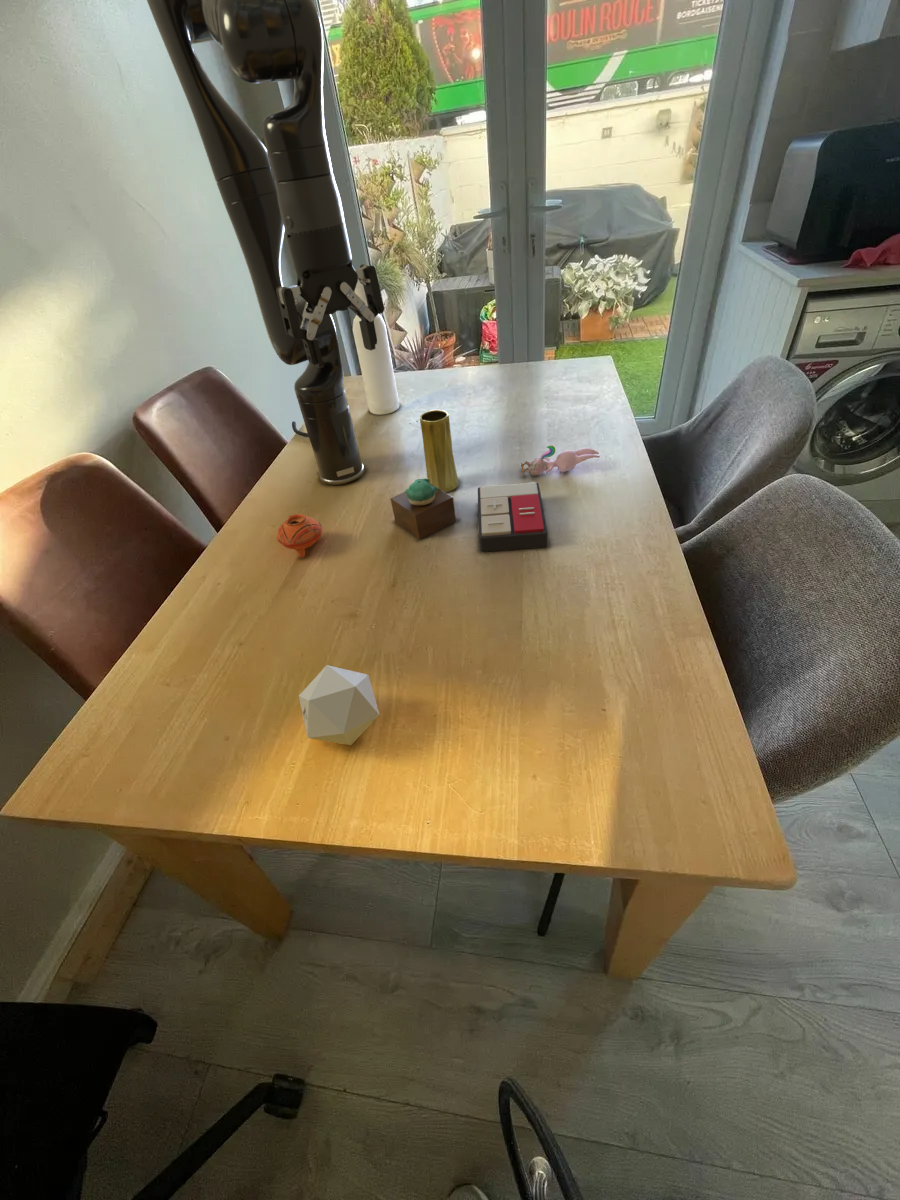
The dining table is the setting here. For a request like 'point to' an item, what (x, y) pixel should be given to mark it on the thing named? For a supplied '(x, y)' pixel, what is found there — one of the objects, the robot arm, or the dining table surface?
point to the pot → (299, 533)
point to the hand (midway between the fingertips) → (344, 357)
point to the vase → (438, 450)
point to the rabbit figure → (558, 460)
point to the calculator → (511, 517)
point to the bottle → (376, 365)
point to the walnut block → (424, 514)
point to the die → (338, 705)
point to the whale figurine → (421, 492)
